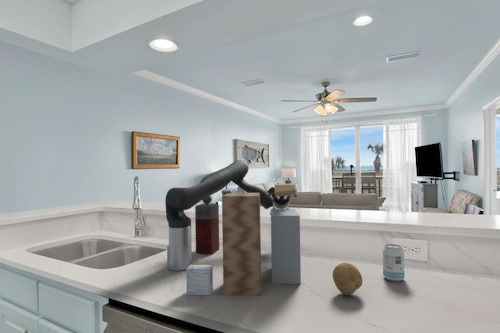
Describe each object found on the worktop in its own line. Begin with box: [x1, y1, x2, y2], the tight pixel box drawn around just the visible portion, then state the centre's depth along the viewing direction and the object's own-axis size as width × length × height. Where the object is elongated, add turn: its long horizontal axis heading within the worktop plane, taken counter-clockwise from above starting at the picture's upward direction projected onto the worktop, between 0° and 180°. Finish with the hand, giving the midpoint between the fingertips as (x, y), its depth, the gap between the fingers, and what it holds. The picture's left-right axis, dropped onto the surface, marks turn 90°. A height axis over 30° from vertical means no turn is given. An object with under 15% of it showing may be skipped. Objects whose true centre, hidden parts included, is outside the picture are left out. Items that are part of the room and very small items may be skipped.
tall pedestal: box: [221, 192, 262, 297], centre depth 98 cm, size 12×12×32 cm
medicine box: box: [185, 264, 214, 296], centre depth 94 cm, size 8×4×9 cm, turn 84°
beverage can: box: [382, 243, 405, 283], centre depth 103 cm, size 7×7×12 cm
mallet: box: [274, 183, 296, 197], centre depth 112 cm, size 20×7×4 cm, turn 177°
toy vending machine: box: [194, 195, 220, 255], centre depth 142 cm, size 9×11×28 cm
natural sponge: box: [332, 262, 363, 297], centre depth 91 cm, size 9×9×10 cm
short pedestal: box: [270, 208, 302, 285], centre depth 108 cm, size 10×16×24 cm, turn 177°
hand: (282, 185), depth 116 cm, fingers closed on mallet, 3 cm apart
